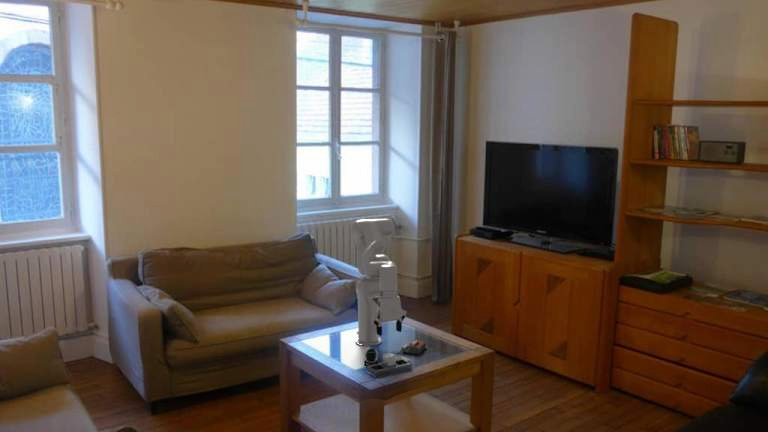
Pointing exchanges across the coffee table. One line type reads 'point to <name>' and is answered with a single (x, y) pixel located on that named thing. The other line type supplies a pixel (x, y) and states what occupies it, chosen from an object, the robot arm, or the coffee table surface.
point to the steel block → (389, 360)
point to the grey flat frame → (382, 370)
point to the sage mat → (402, 358)
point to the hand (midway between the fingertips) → (389, 333)
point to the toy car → (371, 356)
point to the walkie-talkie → (413, 347)
